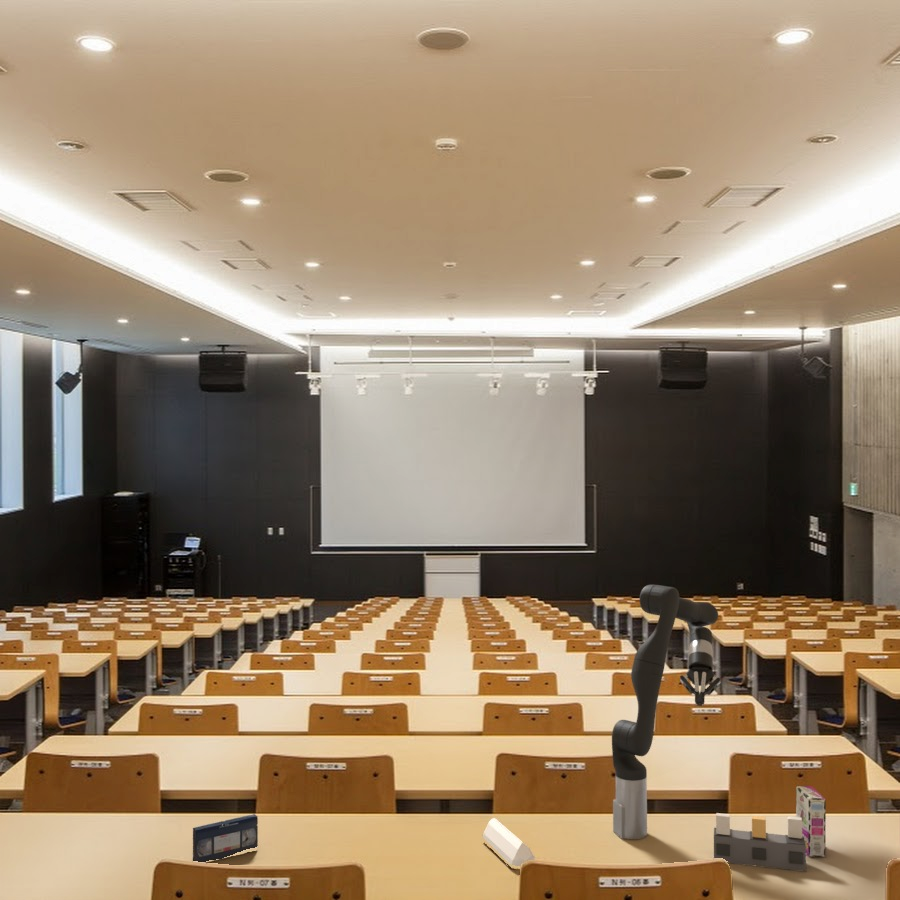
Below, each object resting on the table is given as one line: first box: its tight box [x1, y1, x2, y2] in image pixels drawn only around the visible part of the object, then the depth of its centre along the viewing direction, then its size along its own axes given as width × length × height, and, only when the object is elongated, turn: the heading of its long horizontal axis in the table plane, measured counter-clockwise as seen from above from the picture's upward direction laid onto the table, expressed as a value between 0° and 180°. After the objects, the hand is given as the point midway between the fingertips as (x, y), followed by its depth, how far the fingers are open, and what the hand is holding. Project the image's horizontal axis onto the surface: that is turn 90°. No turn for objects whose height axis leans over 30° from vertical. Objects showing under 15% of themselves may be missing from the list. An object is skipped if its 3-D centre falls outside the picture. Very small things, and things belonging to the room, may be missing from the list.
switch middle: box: [751, 815, 767, 838], centre depth 260 cm, size 4×2×5 cm, turn 73°
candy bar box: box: [795, 785, 827, 858], centre depth 269 cm, size 11×5×16 cm, turn 178°
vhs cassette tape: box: [192, 813, 259, 862], centre depth 266 cm, size 18×3×10 cm, turn 122°
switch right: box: [787, 816, 802, 838], centre depth 260 cm, size 4×2×5 cm, turn 73°
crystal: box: [482, 817, 536, 866], centre depth 267 cm, size 7×7×24 cm
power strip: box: [713, 827, 807, 872], centre depth 261 cm, size 24×6×7 cm, turn 73°
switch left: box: [715, 812, 731, 835], centre depth 262 cm, size 4×2×5 cm, turn 73°
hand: (699, 704), depth 292 cm, fingers closed
